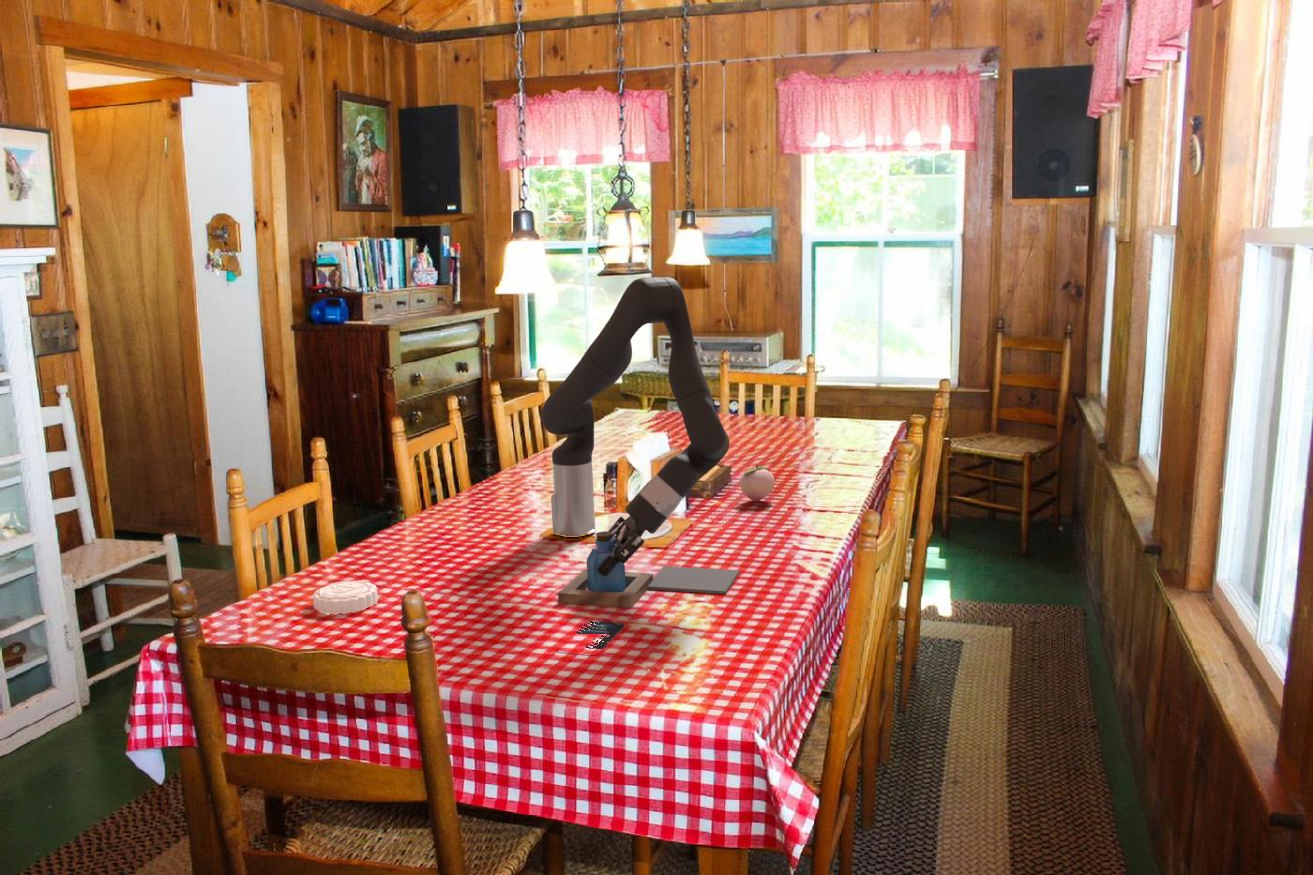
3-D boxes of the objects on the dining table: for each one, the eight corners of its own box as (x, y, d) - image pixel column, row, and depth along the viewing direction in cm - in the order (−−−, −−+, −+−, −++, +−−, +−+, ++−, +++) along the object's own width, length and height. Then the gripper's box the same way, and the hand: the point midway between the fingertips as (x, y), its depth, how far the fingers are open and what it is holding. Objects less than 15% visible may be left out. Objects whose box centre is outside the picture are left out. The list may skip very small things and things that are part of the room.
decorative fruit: (762, 508, 268) (761, 469, 266) (735, 504, 273) (734, 466, 271) (781, 500, 275) (781, 462, 273) (754, 496, 280) (754, 459, 278)
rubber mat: (646, 589, 210) (646, 586, 210) (664, 568, 222) (664, 566, 222) (725, 594, 206) (725, 591, 206) (739, 573, 218) (739, 570, 218)
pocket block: (558, 602, 204) (557, 593, 204) (584, 578, 218) (584, 569, 217) (631, 608, 200) (630, 597, 200) (653, 583, 214) (652, 573, 213)
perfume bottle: (594, 599, 205) (591, 539, 203) (588, 589, 211) (585, 531, 209) (626, 595, 207) (623, 536, 204) (618, 586, 213) (616, 528, 210)
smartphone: (554, 651, 180) (586, 620, 194) (554, 654, 180) (586, 623, 194) (596, 655, 178) (626, 623, 192) (596, 658, 178) (626, 626, 192)
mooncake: (354, 591, 216) (352, 574, 215) (390, 603, 208) (389, 585, 207) (301, 608, 207) (300, 591, 206) (337, 621, 199) (336, 603, 198)
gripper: (632, 483, 214) (576, 546, 213) (649, 500, 200) (589, 567, 199) (658, 507, 216) (604, 569, 215) (677, 525, 202) (618, 591, 202)
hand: (597, 568), depth 207 cm, fingers closed on perfume bottle, 6 cm apart
